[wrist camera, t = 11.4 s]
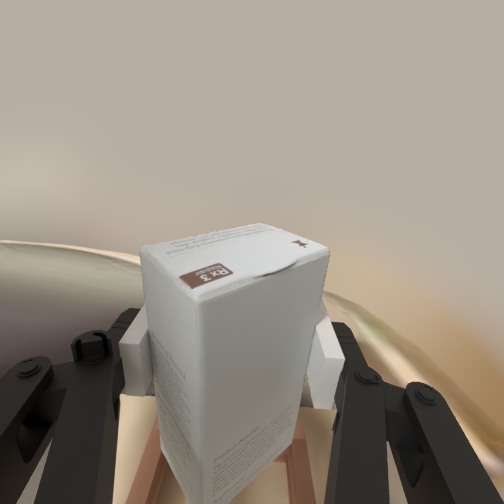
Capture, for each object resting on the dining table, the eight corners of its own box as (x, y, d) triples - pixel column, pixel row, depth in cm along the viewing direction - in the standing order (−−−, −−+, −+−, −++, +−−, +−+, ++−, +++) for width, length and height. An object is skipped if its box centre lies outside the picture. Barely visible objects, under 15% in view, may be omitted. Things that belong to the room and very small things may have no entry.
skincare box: (245, 394, 19) (259, 216, 14) (296, 449, 16) (338, 245, 11) (154, 456, 15) (132, 238, 10) (200, 545, 12) (198, 293, 7)
